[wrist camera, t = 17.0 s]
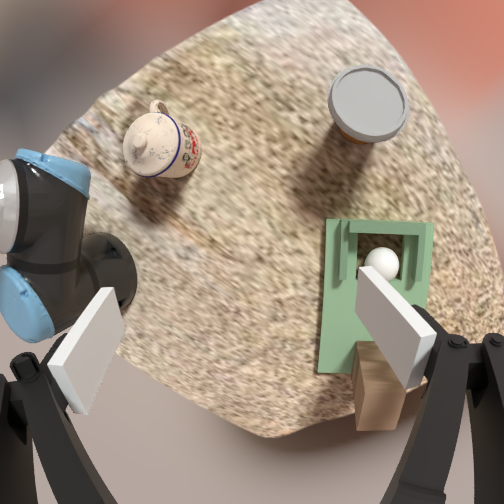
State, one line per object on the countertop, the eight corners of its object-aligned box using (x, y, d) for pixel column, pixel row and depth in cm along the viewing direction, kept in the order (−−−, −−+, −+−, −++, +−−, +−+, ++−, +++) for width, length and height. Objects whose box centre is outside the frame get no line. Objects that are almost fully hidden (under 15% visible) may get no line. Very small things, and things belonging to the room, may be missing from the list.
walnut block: (351, 373, 45) (356, 430, 32) (356, 340, 44) (365, 393, 31) (381, 373, 44) (394, 429, 31) (387, 341, 43) (406, 392, 30)
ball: (367, 278, 38) (367, 241, 39) (361, 285, 43) (361, 252, 44) (403, 279, 37) (402, 242, 38) (394, 286, 42) (393, 253, 43)
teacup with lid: (207, 174, 46) (172, 168, 35) (156, 184, 49) (113, 182, 37) (199, 101, 45) (165, 78, 34) (150, 115, 47) (108, 99, 36)
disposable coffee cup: (399, 147, 40) (423, 130, 28) (338, 162, 42) (344, 149, 30) (377, 87, 39) (393, 54, 27) (317, 101, 41) (315, 71, 29)
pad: (317, 367, 48) (316, 384, 43) (326, 218, 44) (326, 220, 39) (410, 368, 44) (417, 384, 40) (430, 222, 40) (442, 225, 35)
